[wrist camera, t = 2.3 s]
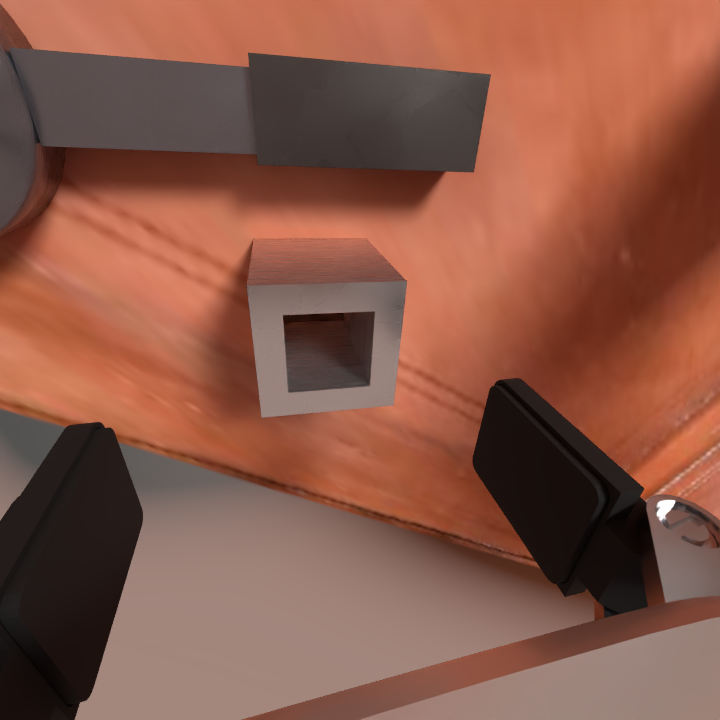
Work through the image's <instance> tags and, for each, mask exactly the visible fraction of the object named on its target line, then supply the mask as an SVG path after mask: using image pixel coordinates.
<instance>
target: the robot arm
mask: <svg viewBox="0 0 720 720" xmlns="http://www.w3.org/2000/svg"><path fill="white" fill-rule="evenodd" d="M473 466H474V469H475V471H476V473H477V474H478V476H479V477H480V479H481V480H482V482H483V483H484V485H485V486H486V488H487V489H488V491H489V492H490V494H491V495H492V497H493V498H494V500H495V501H496V503H497V504H498V506H499V507H500V509H501V510H502V512H503V513H504V515H505V516H506V517H507V519H508V520H509V522H510V523H511V525H512V526H513V528H514V529H515V531H516V532H517V534H518V535H519V537H520V538H521V540H522V541H523V543H524V544H525V546H526V547H527V549H528V550H529V552H530V553H531V555H532V556H533V558H534V559H535V561H536V562H537V564H538V565H539V567H540V568H541V570H542V571H543V573H544V574H545V576H546V577H547V578H548V580H550V581H551V582H552V583H554V584H557V586H558V587H559V589H560V590H561V592H562V593H563V595H564V596H565V597H566V596H570V595H573V594H578V593H582V592H584V591H585V590H586V588H587V589H588V590H589V592H590V593H591V594H592V596H593V597H594V616H595V621H592V622H588V623H584V624H581V625H577V626H573V627H570V628H566V629H563V630H559V631H555V632H552V633H548V634H544V635H541V636H537V637H533V638H530V639H526V640H522V641H519V642H515V643H511V644H508V645H504V646H501V647H497V648H493V649H490V650H486V651H483V652H479V653H475V654H472V655H468V656H465V657H461V658H458V659H454V660H451V661H447V662H443V663H440V664H436V665H433V666H430V667H426V668H422V669H418V670H415V671H411V672H408V673H404V674H401V675H397V676H394V677H390V678H386V679H383V680H380V681H376V682H373V683H369V684H365V685H362V686H358V687H355V688H351V689H347V690H344V691H340V692H337V693H333V694H330V695H326V696H323V697H319V698H316V699H312V700H309V701H305V702H302V703H298V704H295V705H291V706H288V707H284V708H281V709H278V710H274V711H271V712H267V713H264V714H260V715H257V716H253V717H249V718H246V719H243V720H720V520H719V519H718V518H716V517H715V516H714V515H712V514H711V513H710V512H708V511H707V510H705V509H704V508H702V507H700V506H698V505H697V504H695V503H693V502H690V501H688V500H685V499H683V498H680V497H676V496H672V495H655V496H652V497H650V499H649V500H648V501H647V502H645V501H644V500H643V499H642V498H641V497H640V495H641V494H642V492H643V490H644V488H643V487H642V486H641V485H640V484H639V483H637V482H636V481H635V480H634V479H633V478H632V477H631V476H630V475H628V474H627V473H626V472H625V471H624V470H623V469H622V468H621V467H619V466H618V465H617V464H616V463H615V462H614V461H613V460H612V459H610V458H609V457H608V456H607V455H606V454H605V453H604V452H603V451H601V450H600V449H599V448H598V447H597V446H596V445H595V444H594V443H592V442H591V441H590V440H589V439H588V438H587V437H586V436H585V435H583V434H582V433H581V432H580V431H579V430H578V429H577V428H576V427H574V426H573V425H572V424H571V423H570V422H569V421H568V420H567V419H565V418H564V417H563V416H562V415H561V414H560V413H559V412H558V411H556V410H555V409H554V408H553V407H552V406H551V405H550V404H549V403H547V402H546V401H545V400H544V399H543V398H542V397H541V396H540V395H538V394H537V393H536V392H535V391H534V390H533V389H532V388H531V387H529V386H528V385H527V384H526V383H525V382H524V381H523V380H521V379H519V378H514V379H505V380H499V381H497V382H496V383H495V385H494V386H492V387H491V388H490V391H489V395H488V399H487V403H486V407H485V411H484V415H483V419H482V423H481V427H480V431H479V435H478V439H477V443H476V447H475V451H474V455H473ZM142 522H143V512H142V507H141V505H140V502H139V499H138V496H137V494H136V491H135V488H134V485H133V483H132V480H131V477H130V474H129V471H128V469H127V466H126V463H125V460H124V458H123V455H122V452H121V449H120V446H119V444H118V441H117V438H116V435H115V433H114V431H113V429H112V428H105V427H104V425H103V424H102V423H100V422H95V423H85V424H76V425H69V426H67V427H66V428H65V429H64V431H63V432H62V434H61V435H60V437H59V438H58V440H57V441H56V443H55V444H54V446H53V447H52V449H51V450H50V452H49V453H48V455H47V456H46V458H45V459H44V461H43V462H42V464H41V465H40V467H39V468H38V470H37V471H36V473H35V474H34V476H33V477H32V479H31V480H30V482H29V483H28V485H27V486H26V488H25V489H24V491H23V492H22V494H21V495H20V496H19V497H18V498H17V499H16V500H15V501H14V502H13V503H12V504H11V506H10V507H9V509H8V510H7V512H6V513H5V515H4V516H3V518H2V519H1V521H0V720H74V719H75V716H76V713H77V710H78V707H79V704H80V702H83V701H86V700H87V699H88V698H89V696H90V695H91V693H92V690H93V687H94V684H95V681H96V678H97V674H98V671H99V667H100V664H101V661H102V658H103V654H104V651H105V647H106V644H107V641H108V637H109V634H110V630H111V627H112V624H113V620H114V617H115V614H116V611H117V607H118V604H119V601H120V597H121V594H122V590H123V587H124V584H125V580H126V577H127V573H128V570H129V567H130V564H131V560H132V557H133V554H134V550H135V547H136V543H137V540H138V537H139V533H140V530H141V526H142Z"/></svg>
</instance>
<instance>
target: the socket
mask: <svg viewBox="0 0 720 720" xmlns="http://www.w3.org/2000/svg"><path fill="white" fill-rule="evenodd" d="M406 286H407V281H406V280H405V279H404V278H403V277H402V276H401V274H400V273H399V272H398V271H397V270H396V269H395V268H394V267H393V266H392V265H391V264H390V263H389V262H388V261H387V260H386V259H385V258H384V256H383V255H382V254H381V253H380V252H379V251H378V250H377V249H376V248H375V247H374V246H373V245H372V244H371V243H370V242H369V241H368V240H367V239H254V240H253V247H252V254H251V260H250V267H249V273H248V280H247V293H248V302H249V311H250V319H251V328H252V337H253V346H254V355H255V364H256V372H257V381H258V390H259V399H260V408H261V416H262V418H264V417H275V416H285V415H296V414H307V413H317V412H328V411H339V410H349V409H360V408H371V407H381V406H392V405H394V396H395V387H396V378H397V369H398V360H399V350H400V341H401V332H402V323H403V313H404V304H405V295H406ZM323 313H343V320H329V321H307V322H285V323H283V315H299V314H323Z"/></svg>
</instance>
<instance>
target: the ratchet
mask: <svg viewBox="0 0 720 720" xmlns="http://www.w3.org/2000/svg"><path fill="white" fill-rule="evenodd" d="M248 57H249V67H240V66H228V65H216V64H204V63H192V62H179V61H167V60H155V59H143V58H131V57H119V56H107V55H95V54H83V53H71V52H59V51H47V50H34V49H33V48H32V47H31V45H30V43H29V42H28V40H27V38H26V37H25V36H24V34H23V33H22V31H21V30H20V29H19V27H18V26H17V24H16V23H15V22H14V20H13V19H12V18H11V16H10V15H9V14H8V12H7V11H6V10H5V9H4V8H3V7H2V5H1V4H0V236H2V235H5V234H7V233H10V232H13V231H15V230H17V229H19V228H21V227H23V226H24V225H26V224H28V223H29V222H31V221H32V220H33V219H34V218H36V217H37V216H38V215H39V214H40V213H41V212H42V211H43V210H44V209H45V208H46V206H47V205H48V204H49V203H50V201H51V199H52V198H53V196H54V194H55V193H56V191H57V188H58V185H59V182H60V180H61V177H62V172H63V166H64V161H65V147H78V148H104V149H130V150H155V151H181V152H206V153H232V154H257V164H258V165H272V166H301V167H331V168H361V169H390V170H420V171H449V172H474V168H475V162H476V156H477V151H478V145H479V139H480V133H481V128H482V122H483V116H484V111H485V105H486V99H487V93H488V88H489V82H490V76H491V75H490V74H479V73H467V72H456V71H445V70H434V69H423V68H412V67H401V66H390V65H379V64H367V63H356V62H345V61H334V60H323V59H312V58H301V57H290V56H279V55H267V54H256V53H248Z"/></svg>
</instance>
